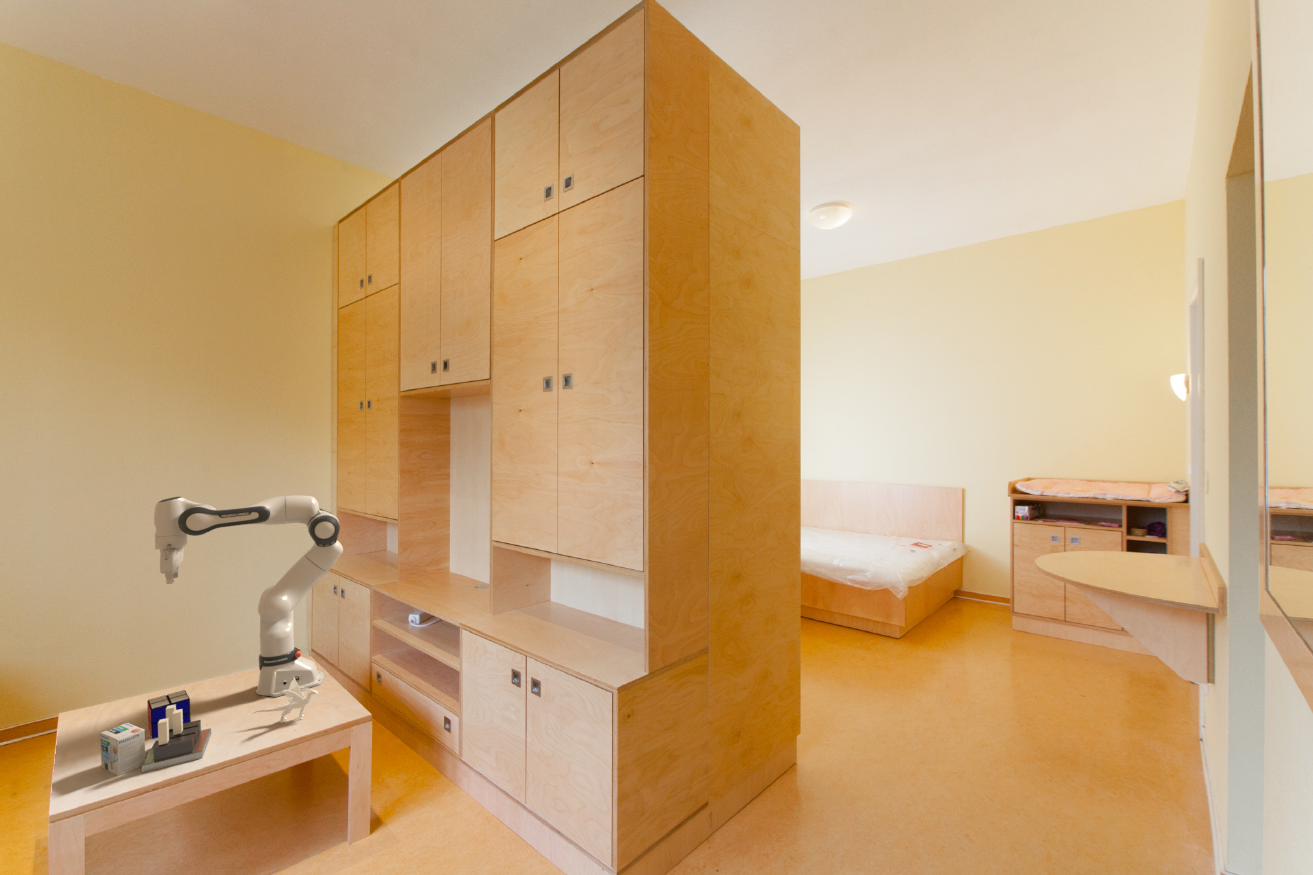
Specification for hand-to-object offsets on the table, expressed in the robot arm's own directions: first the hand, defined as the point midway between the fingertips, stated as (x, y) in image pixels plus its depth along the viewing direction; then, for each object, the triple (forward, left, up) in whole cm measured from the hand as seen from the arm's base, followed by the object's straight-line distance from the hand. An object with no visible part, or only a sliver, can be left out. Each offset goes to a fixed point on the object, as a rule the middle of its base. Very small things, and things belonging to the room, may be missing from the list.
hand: (172, 580), depth 203 cm
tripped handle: (-7, +36, -41) cm, 55 cm away
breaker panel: (-7, +36, -47) cm, 60 cm away
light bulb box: (+6, +36, -47) cm, 60 cm away
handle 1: (-4, +41, -41) cm, 58 cm away
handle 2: (-4, +31, -41) cm, 51 cm away
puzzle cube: (-1, +15, -47) cm, 50 cm away
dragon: (-35, +31, -47) cm, 66 cm away
